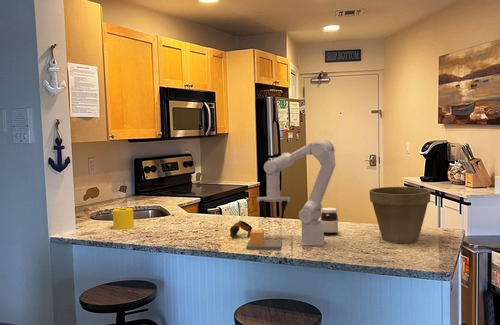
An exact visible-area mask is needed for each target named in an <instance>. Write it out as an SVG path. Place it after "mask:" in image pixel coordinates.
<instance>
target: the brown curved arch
mask: <svg viewBox="0 0 500 325" xmlns="http://www.w3.org/2000/svg"><path fill="white" fill-rule="evenodd" d="M240 229H241V230H244V231H246V232H247V235H246V236H247V238H250V232H251V231H252V230H253V227H252V226H251V225H250V224H249V223H247V222H246V221H243V220H239V221H237V222H235V223H233V225H232V226H231V227H230V228H229V232H230V233H229V237H230V238H231V237H232V238H233V237H234V238H235V237H237V235H238V232H240Z"/></svg>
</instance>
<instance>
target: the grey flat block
mask: <svg viewBox="0 0 500 325" xmlns="http://www.w3.org/2000/svg"><path fill="white" fill-rule="evenodd" d="M281 246H283V240H282V239H281V240H276V239H275V240H274V239H273V240H271V239H270V240H268V239H264V243H263V245H251V240H248V242H247V244H246V246H245V250H246V251H281V250H282V247H281Z"/></svg>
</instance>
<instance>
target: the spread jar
mask: <svg viewBox="0 0 500 325" xmlns="http://www.w3.org/2000/svg"><path fill="white" fill-rule="evenodd" d="M337 210H338V209H337V208H336V207H323V208H321V217H320V218H319V223H323V225H324V236H328V237H329V236H330V237H331V236H336V235H338V233H339V227H338V226H339V218H338V213H337Z"/></svg>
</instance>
